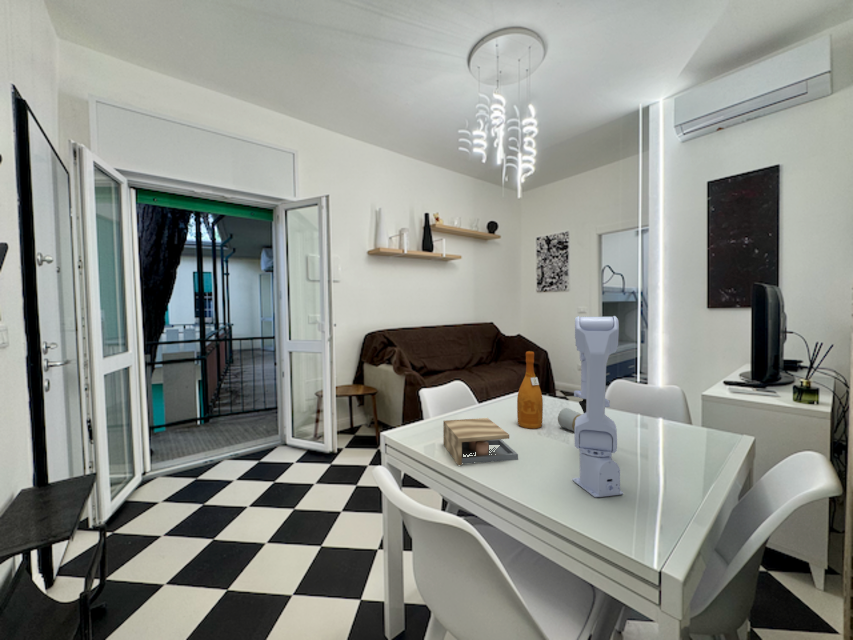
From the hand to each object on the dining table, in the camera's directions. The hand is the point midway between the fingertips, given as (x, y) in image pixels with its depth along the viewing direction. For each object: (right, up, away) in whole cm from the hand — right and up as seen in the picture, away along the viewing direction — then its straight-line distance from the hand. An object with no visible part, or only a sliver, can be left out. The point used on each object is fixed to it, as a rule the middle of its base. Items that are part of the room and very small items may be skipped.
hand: (590, 424), depth 112 cm
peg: (-36, -10, +5) cm, 37 cm away
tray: (-34, -11, +2) cm, 35 cm away
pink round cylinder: (-34, -10, -1) cm, 36 cm away
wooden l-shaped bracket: (-36, -10, +3) cm, 38 cm away
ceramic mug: (+6, -10, +26) cm, 29 cm away
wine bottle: (-10, -10, +31) cm, 34 cm away
